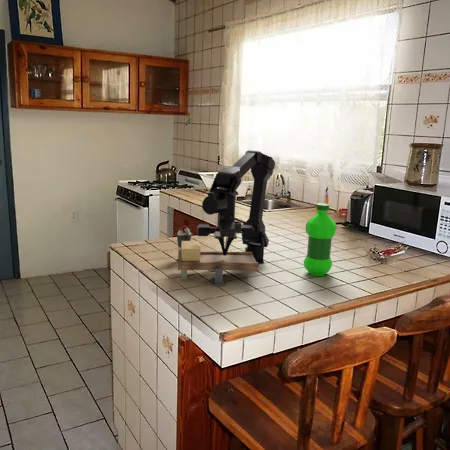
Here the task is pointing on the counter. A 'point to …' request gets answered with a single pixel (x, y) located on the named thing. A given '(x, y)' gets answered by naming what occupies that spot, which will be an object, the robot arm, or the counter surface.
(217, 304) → the counter surface
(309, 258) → the plastic bottle
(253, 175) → the robot arm
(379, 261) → the counter surface
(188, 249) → the tan wood-grain block
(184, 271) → the pivot stand
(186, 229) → the sundae
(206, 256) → the wooden tray
